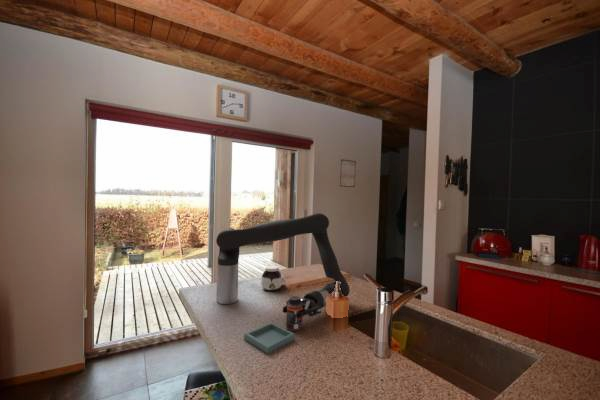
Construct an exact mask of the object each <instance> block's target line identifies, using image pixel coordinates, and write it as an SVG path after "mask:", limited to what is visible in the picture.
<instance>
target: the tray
mask: <svg viewBox="0 0 600 400" xmlns="http://www.w3.org/2000/svg"><path fill="white" fill-rule="evenodd" d="M243 334H244V337H243V339H244V341H245V342H247V343H248V344H249V345H251V346H252V347H254V348H256V349H258V350H260V351H261V352H263V353H264V354H266V355H267V356H268V355H269V354H271V353H273V352H276V351H278V350H279V349H280V348H283V347H284V346H287V345H288V344H290V343H292V342H295V341H296V340H295V339H296V334H295V333H294V332H293V331H290V330H288V329H287V328H284V327H282V326H280V325H278V324H276V323H274V322H272V321H270V322H268V323H266V324H263V325H261V326H259V327H257V328H254V329H252V330H250V331H248V332H245V333H243Z"/></svg>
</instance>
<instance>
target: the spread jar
mask: <svg viewBox="0 0 600 400" xmlns="http://www.w3.org/2000/svg"><path fill="white" fill-rule="evenodd" d="M281 282H284V283H285V282H287V279H286V277H285V276H284V275H283V274H282V273H281V272H280V270H279V266H278V265H267V266H265V269H264V272H263V273H262V275H261V287H262V289H263V290H264V291H265V292H277V291H278V290H279V289H280V288H281Z"/></svg>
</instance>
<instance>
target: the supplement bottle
mask: <svg viewBox="0 0 600 400" xmlns="http://www.w3.org/2000/svg"><path fill="white" fill-rule="evenodd" d="M300 299H301V297H300V296H298V295H293V296H289V299H288V300H289V301H290V302H289V303H288V304H287V303H286V304H287V312H286V322H285V325H286V330H288V331H290V332H299V331H301V330H302V329H303V316H302V317H300V318H297V317H296V313H297V311H299V310H301V309H303V305H302V303H301V302H300Z"/></svg>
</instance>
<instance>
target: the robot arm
mask: <svg viewBox="0 0 600 400" xmlns="http://www.w3.org/2000/svg"><path fill="white" fill-rule="evenodd" d="M329 225H330V221H329V218H328V216H327V215H325V214H324V213H320V212H318V213H317V212H316V213H313V214H310V215H308V216H303V217H299V218H292V219H291V218H288V219H280V220H279V219H278V220H271V221H265V222H263V223H258V224H256V225H254V226H251V227H246V228H240V229H236V228H232V227H227V228H224V229H222V230H221V231H220V232H219V233H218V234H217V236H216V245H217V246H218V248H219V249H218V250H219V251H218V257H217V279H216V297H215V299H216V301H217V303H218V304H220V305H231V304H234V303H236V302H237V301H238V298H239V297H238V296H239V258H240V247H244V246H247V245H255V244H265V243H271V242H277V241H283V240H286V239H289V238H293V237H296V236H299V235H306V234H311V235H312V236H313V238H314V240H315V243H316V246H317V250H318V253H319V256H320V260H321V265H322V268H323V271H324V274H325V277H326V278H328V279H332V280H334V282H333V281H332V282H329V283H327V284H326V285H325V286H322V287H321V288H317V289H314V290H312V291H310V292H307V293H305V295H304V296H303V297H302V298H300V302H301V303H302V305H303V309H301V310H299V311H297V313H296V317H297V318H300V317H302V318H303V317H304V316H307V317H314V316H316V315H319V314H321V313H322V309H323V308H325V307H326V306H327V305H326V301H325V300H326V297H327V296H328V295H329V294H331V293H332V292H333V291H334V288H335V284H336V281H340V282H341V284H340V288H341V292H342V294H343V295H344V296H346V297H345V298H347V297H348V296H349V294H350V292H351V291H350V285H349V283H348V281H347V279H346V277H344V274H343V273H342V272H341V269H340V265H339V261H338V259H337V256H336V254H335V252H334V250H333V247H332V244H331V242H330V240H329V236H328V229H329ZM289 300H290V299H288V300H287V301H286V303H285V304H286V305H284V306H283V307H282V313H284V314H285V313H286V314H287V304H288V303H289V302H290V301H289Z"/></svg>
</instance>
